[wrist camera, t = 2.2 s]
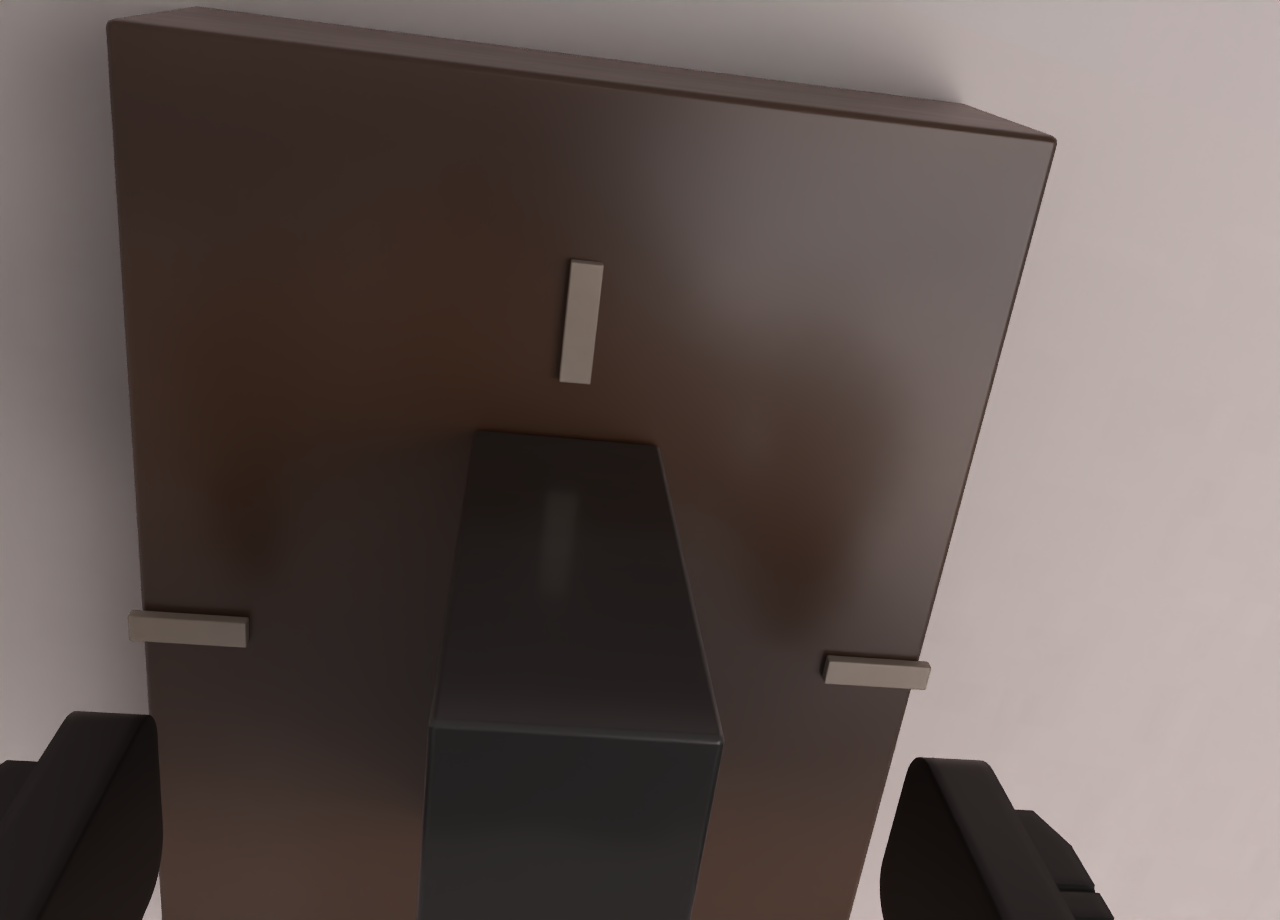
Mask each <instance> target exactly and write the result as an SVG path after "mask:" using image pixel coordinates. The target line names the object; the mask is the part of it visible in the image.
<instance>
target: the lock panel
mask: <svg viewBox="0 0 1280 920" xmlns="http://www.w3.org/2000/svg"><path fill="white" fill-rule="evenodd" d="M106 35H107V51H108V67H109V83H110V98H111V114H112V130H113V146H114V162H115V178H116V194H117V210H118V226H119V241H120V257H121V273H122V289H123V305H124V321H125V337H126V353H127V369H128V385H129V400H130V416H131V432H132V448H133V464H134V480H135V496H136V512H137V528H138V543H139V559H140V575H141V591H142V607H143V610H132V611H131V612H130V614H129V615H128V626H129V639H130V640H131V641H145V655H146V671H147V687H148V702H149V715H151V716H152V717H153V718H154V720H155V722H156V727H157V734H158V751H159V768H160V785H161V802H162V819H163V846H162V855H161V862H160V868H159V877H160V893H161V909H162V920H416V913H417V897H418V880H419V863H420V846H421V829H422V813H423V796H424V779H425V762H426V745H427V729H428V720H429V713H430V707H431V701H432V695H433V688H434V682H435V676H436V669H437V663H438V657H439V650H440V644H441V638H442V632H443V625H444V619H445V613H446V606H447V600H448V594H449V587H450V581H451V575H452V569H453V562H454V556H455V550H456V543H457V537H458V531H459V524H460V518H461V512H462V505H463V499H464V493H465V487H466V480H467V474H468V468H469V461H470V455H471V449H472V442H473V436H474V434H475V432H477V431H488V432H500V433H512V434H523V435H535V436H546V437H558V438H569V439H581V440H593V441H604V442H616V443H627V444H639V445H651V446H657V447H659V449H660V452H661V457H662V461H663V465H664V470H665V474H666V479H667V483H668V488H669V492H670V497H671V501H672V506H673V510H674V515H675V519H676V524H677V528H678V533H679V537H680V542H681V546H682V551H683V555H684V560H685V564H686V569H687V573H688V578H689V582H690V587H691V591H692V596H693V600H694V605H695V609H696V614H697V618H698V623H699V627H700V632H701V636H702V641H703V645H704V650H705V654H706V659H707V663H708V668H709V672H710V677H711V681H712V686H713V690H714V695H715V699H716V704H717V708H718V713H719V717H720V722H721V726H722V731H723V735H724V740H725V743H724V748H723V753H722V758H721V763H720V769H719V774H718V779H717V784H716V790H715V795H714V800H713V805H712V810H711V816H710V821H709V826H708V831H707V836H706V842H705V847H704V852H703V857H702V863H701V868H700V873H699V878H698V883H697V889H696V894H695V899H694V904H693V909H692V915H691V920H849V917H850V914H851V910H852V906H853V902H854V899H855V895H856V891H857V888H858V884H859V880H860V876H861V873H862V869H863V865H864V861H865V858H866V854H867V850H868V847H869V843H870V839H871V835H872V832H873V828H874V824H875V820H876V817H877V813H878V809H879V806H880V802H881V798H882V794H883V791H884V787H885V783H886V779H887V776H888V772H889V768H890V765H891V761H892V757H893V753H894V750H895V746H896V742H897V738H898V735H899V731H900V727H901V724H902V720H903V716H904V712H905V709H906V705H907V701H908V697H909V694H910V690H911V689H920V690H925V689H926V685H927V682H928V678H929V675H930V671H931V667H930V665H929V663H928V662H925V661H918V660H919V656H920V653H921V649H922V645H923V641H924V638H925V634H926V630H927V627H928V623H929V619H930V615H931V612H932V608H933V604H934V600H935V597H936V593H937V589H938V586H939V582H940V578H941V574H942V571H943V567H944V563H945V559H946V556H947V552H948V548H949V545H950V541H951V537H952V533H953V530H954V526H955V522H956V518H957V515H958V511H959V507H960V504H961V500H962V496H963V492H964V489H965V485H966V481H967V477H968V474H969V470H970V466H971V463H972V459H973V455H974V451H975V448H976V444H977V440H978V436H979V433H980V429H981V425H982V422H983V418H984V414H985V410H986V407H987V403H988V399H989V395H990V392H991V388H992V384H993V381H994V377H995V373H996V369H997V366H998V362H999V358H1000V354H1001V351H1002V347H1003V343H1004V340H1005V336H1006V332H1007V328H1008V325H1009V321H1010V317H1011V313H1012V310H1013V306H1014V302H1015V299H1016V295H1017V291H1018V287H1019V284H1020V280H1021V276H1022V272H1023V269H1024V265H1025V261H1026V257H1027V254H1028V250H1029V246H1030V243H1031V239H1032V235H1033V231H1034V228H1035V224H1036V220H1037V216H1038V213H1039V209H1040V205H1041V202H1042V198H1043V194H1044V190H1045V187H1046V183H1047V179H1048V175H1049V172H1050V168H1051V164H1052V161H1053V157H1054V153H1055V149H1056V146H1057V140H1056V138H1054V137H1053V136H1051V135H1048V134H1046V133H1043V132H1040V131H1037V130H1034V129H1032V128H1029V127H1026V126H1023V125H1021V124H1018V123H1015V122H1012V121H1009V120H1007V119H1004V118H1001V117H998V116H996V115H993V114H990V113H987V112H984V111H982V110H979V109H976V108H973V107H971V106H968V105H965V104H958V103H951V102H943V101H935V100H927V99H919V98H911V97H903V96H895V95H888V94H880V93H872V92H864V91H856V90H848V89H840V88H832V87H825V86H817V85H809V84H801V83H793V82H785V81H777V80H769V79H761V78H754V77H746V76H738V75H730V74H722V73H714V72H706V71H698V70H691V69H683V68H675V67H667V66H659V65H651V64H643V63H635V62H628V61H620V60H612V59H604V58H596V57H588V56H580V55H572V54H564V53H557V52H549V51H541V50H533V49H525V48H517V47H509V46H501V45H494V44H486V43H478V42H470V41H462V40H454V39H446V38H438V37H431V36H423V35H415V34H407V33H399V32H391V31H383V30H375V29H367V28H360V27H352V26H344V25H336V24H328V23H320V22H312V21H304V20H297V19H289V18H281V17H273V16H265V15H257V14H249V13H241V12H234V11H226V10H218V9H210V8H202V7H191V8H185V9H178V10H171V11H164V12H157V13H150V14H144V15H137V16H130V17H123V18H116V19H112V20H109V21H108V23H107V25H106Z"/></svg>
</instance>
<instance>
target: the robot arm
mask: <svg viewBox="0 0 1280 920" xmlns="http://www.w3.org/2000/svg"><path fill="white" fill-rule="evenodd" d="M162 846H163V819H162V802H161V785H160V768H159V751H158V734H157V727H156V722H155V720H154V718H153V717H152V716H151V715H141V714H121V713H102V712H83V711H74V712H72V713H70V714H69V715H68V716H67V717H66V719H65V720H64V721H63V723H62V725H61V726H60V728H59V729H58V731H57V732H56V734H55V736H54V737H53V739H52V740H51V742H50V743H49V745H48V747H47V748H46V750H45V751H44V753H43V755H42V756H41V758H40V759H39V761H38V762H35V761H13V760H6V761H5V762H4V763H2V764H1V765H0V920H142V918H143V916H144V913H145V911H146V909H147V906H148V904H149V902H150V899H151V896H152V894H153V891H154V888H155V884H156V881H157V877H158V872H159V868H160V862H161V855H162ZM1094 886H1095V885H1094V883H1093V882H1092V880H1091V878H1090V876H1089V875H1088V873H1087V871H1086V870H1085V868H1084V866H1083V865H1082V863H1081V861H1080V860H1079V858H1078V856H1077V855H1076V853H1075V851H1074V850H1073V848H1072V846H1071V845H1070V844H1069V843H1068V842H1067V841H1066V840H1064V839H1063V838H1062V837H1061V836H1060V835H1059V834H1058V833H1057V832H1056V831H1055V830H1054V829H1052V828H1051V827H1050V826H1049V825H1048V824H1047V823H1046V822H1045V821H1044V820H1043V819H1041V818H1040V817H1039V816H1038V815H1037V814H1036V813H1035V812H1034V811H1031V810H1015V809H1014V808H1013V806H1012V804H1011V802H1010V800H1009V799H1008V797H1007V795H1006V793H1005V791H1004V790H1003V788H1002V786H1001V784H1000V782H999V780H998V779H997V777H996V775H995V773H994V771H993V770H992V768H991V767H990V766H989V765H988V764H987V763H986V762H984V761H980V760H961V759H942V758H923V757H918V758H915V759H914V760H913V761H912V763H911V764H910V766H909V768H908V771H907V774H906V777H905V781H904V784H903V788H902V792H901V795H900V799H899V803H898V806H897V810H896V814H895V817H894V821H893V825H892V828H891V832H890V836H889V839H888V843H887V847H886V850H885V854H884V858H883V862H882V867H881V874H880V899H881V908H882V914H883V918H884V920H1114V917H1113V915H1112V913H1111V912H1110V910H1109V908H1108V907H1107V905H1106V903H1105V902H1104V900H1103V898H1102V897H1101V895H1100V893H1095V890H1094Z"/></svg>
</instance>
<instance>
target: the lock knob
mask: <svg viewBox="0 0 1280 920" xmlns="http://www.w3.org/2000/svg"><path fill="white" fill-rule="evenodd" d="M724 743H725V740H724V735H723V731H722V726H721V722H720V717H719V713H718V708H717V704H716V699H715V695H714V690H713V686H712V681H711V677H710V672H709V668H708V663H707V659H706V654H705V650H704V645H703V641H702V636H701V632H700V627H699V623H698V618H697V614H696V609H695V605H694V600H693V596H692V591H691V587H690V582H689V578H688V573H687V569H686V564H685V560H684V555H683V551H682V546H681V542H680V537H679V533H678V528H677V524H676V519H675V515H674V510H673V506H672V501H671V497H670V492H669V488H668V483H667V479H666V474H665V470H664V465H663V461H662V457H661V452H660V449H659V447H657V446H651V445H639V444H627V443H616V442H604V441H593V440H581V439H569V438H558V437H546V436H535V435H523V434H512V433H500V432H488V431H477V432H475V434H474V436H473V442H472V449H471V455H470V461H469V468H468V474H467V480H466V487H465V493H464V499H463V505H462V512H461V518H460V524H459V531H458V537H457V543H456V550H455V556H454V562H453V569H452V575H451V581H450V587H449V594H448V600H447V606H446V613H445V619H444V625H443V632H442V638H441V644H440V650H439V657H438V663H437V669H436V676H435V682H434V688H433V695H432V701H431V707H430V713H429V720H428V729H427V745H426V762H425V779H424V796H423V813H422V829H421V846H420V863H419V880H418V897H417V913H416V920H691V915H692V909H693V904H694V899H695V894H696V889H697V883H698V878H699V873H700V868H701V863H702V857H703V852H704V847H705V842H706V836H707V831H708V826H709V821H710V816H711V810H712V805H713V800H714V795H715V790H716V784H717V779H718V774H719V769H720V763H721V758H722V753H723V748H724Z"/></svg>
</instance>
